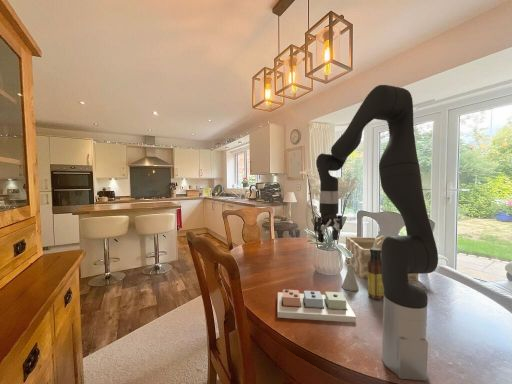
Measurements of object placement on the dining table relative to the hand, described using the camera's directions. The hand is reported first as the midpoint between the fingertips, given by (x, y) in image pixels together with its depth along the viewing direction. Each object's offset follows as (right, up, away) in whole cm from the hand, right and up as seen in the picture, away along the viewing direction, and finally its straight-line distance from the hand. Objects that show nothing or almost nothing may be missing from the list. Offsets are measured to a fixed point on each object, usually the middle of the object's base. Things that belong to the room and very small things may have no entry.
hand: (328, 241), depth 94 cm
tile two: (-9, -21, -10) cm, 25 cm away
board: (-9, -23, -10) cm, 27 cm away
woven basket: (+36, -22, +29) cm, 51 cm away
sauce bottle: (+19, -23, -1) cm, 30 cm away
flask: (+12, -23, +7) cm, 26 cm away
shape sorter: (+37, -22, +29) cm, 52 cm away
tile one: (-1, -21, -11) cm, 23 cm away
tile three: (-17, -21, -9) cm, 28 cm away
